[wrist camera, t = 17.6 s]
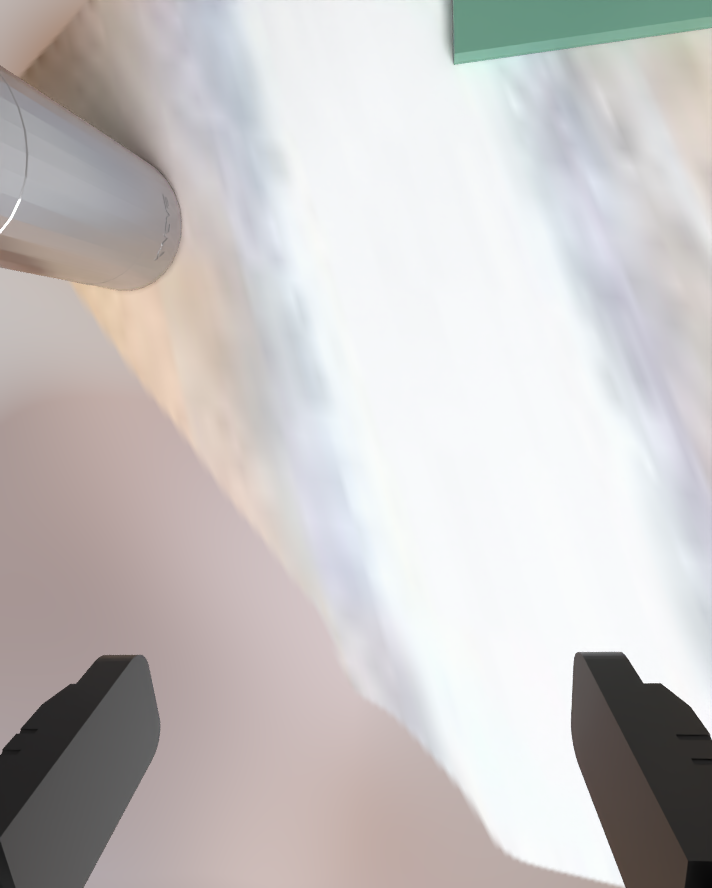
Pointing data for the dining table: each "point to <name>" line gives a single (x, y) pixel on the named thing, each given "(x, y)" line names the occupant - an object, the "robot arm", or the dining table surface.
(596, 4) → the pin board
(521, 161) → the dining table surface
